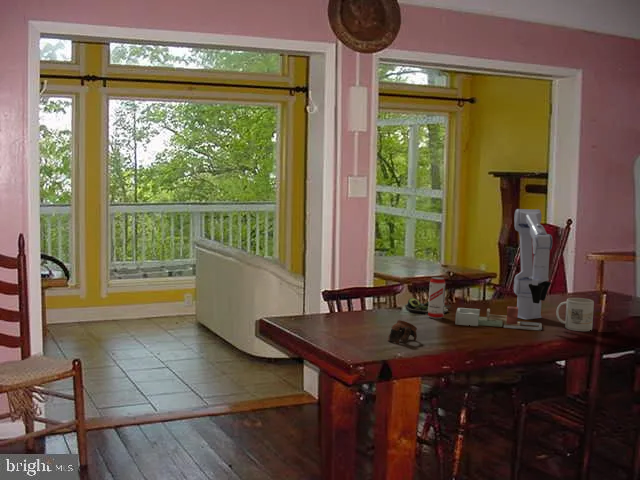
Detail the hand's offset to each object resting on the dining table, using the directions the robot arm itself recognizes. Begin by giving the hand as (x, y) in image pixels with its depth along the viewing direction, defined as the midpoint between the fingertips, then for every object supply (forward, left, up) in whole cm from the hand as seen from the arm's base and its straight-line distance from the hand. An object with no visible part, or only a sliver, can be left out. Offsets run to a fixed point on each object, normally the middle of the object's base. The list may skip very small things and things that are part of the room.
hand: (538, 301), depth 292 cm
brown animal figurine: (+62, -3, -10) cm, 63 cm away
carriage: (+10, -9, -10) cm, 16 cm away
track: (+8, -7, -10) cm, 14 cm away
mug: (-13, +7, -10) cm, 18 cm away
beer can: (+25, -31, -10) cm, 41 cm away
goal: (+19, -18, -10) cm, 28 cm away
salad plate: (+19, -45, -10) cm, 50 cm away
